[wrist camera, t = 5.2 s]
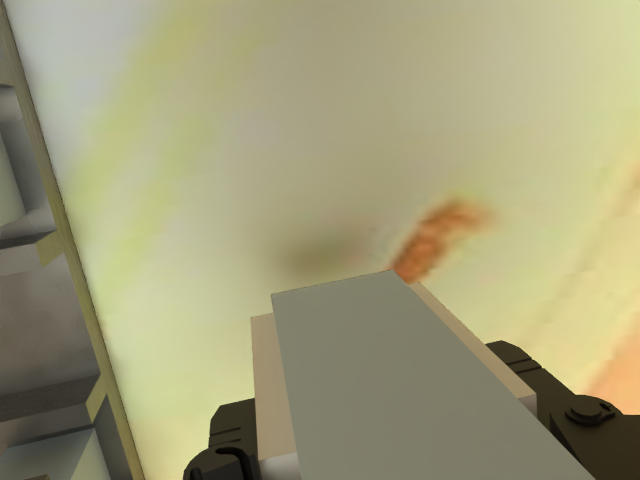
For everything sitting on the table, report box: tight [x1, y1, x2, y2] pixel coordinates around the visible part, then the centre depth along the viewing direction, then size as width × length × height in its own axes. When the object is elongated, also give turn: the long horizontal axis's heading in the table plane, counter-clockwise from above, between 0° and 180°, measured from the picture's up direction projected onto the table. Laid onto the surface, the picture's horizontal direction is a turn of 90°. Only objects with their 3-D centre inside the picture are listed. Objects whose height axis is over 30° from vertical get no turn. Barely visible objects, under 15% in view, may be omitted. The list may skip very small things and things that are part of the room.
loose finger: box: [271, 270, 595, 480], centre depth 11 cm, size 4×4×10 cm
